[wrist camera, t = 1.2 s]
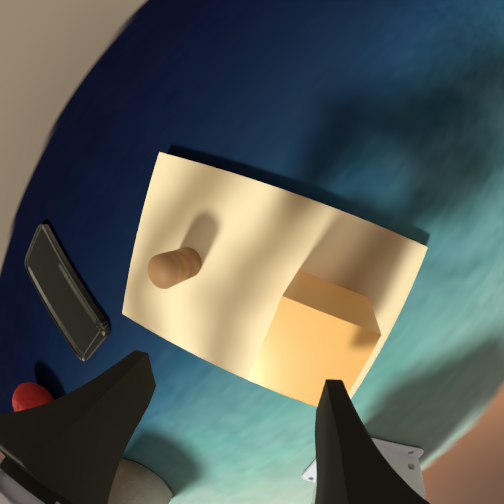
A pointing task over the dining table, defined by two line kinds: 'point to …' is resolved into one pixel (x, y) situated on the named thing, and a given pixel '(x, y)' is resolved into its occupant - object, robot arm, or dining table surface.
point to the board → (250, 261)
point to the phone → (65, 295)
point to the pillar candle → (138, 486)
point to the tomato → (30, 396)
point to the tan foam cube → (315, 339)
